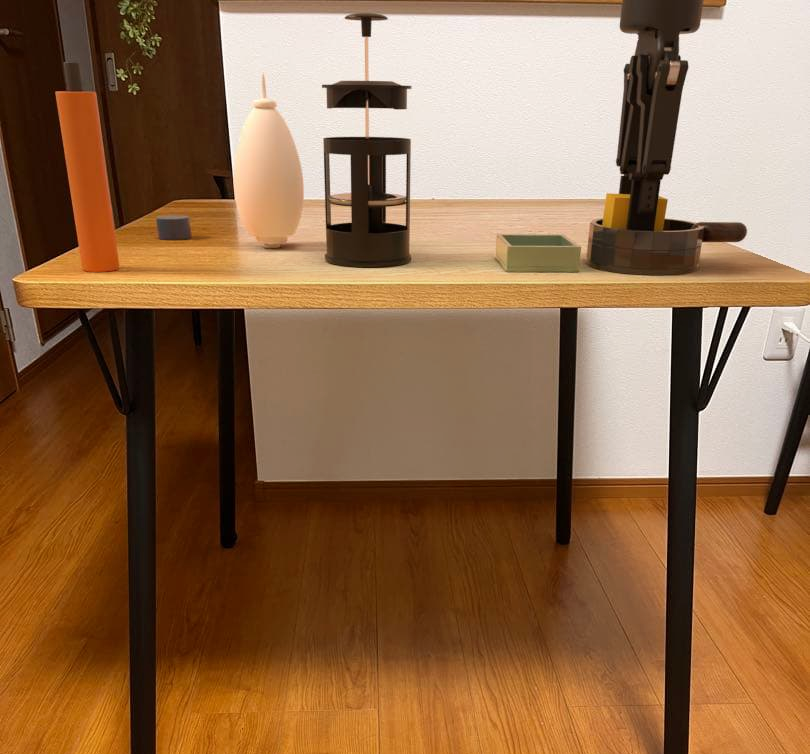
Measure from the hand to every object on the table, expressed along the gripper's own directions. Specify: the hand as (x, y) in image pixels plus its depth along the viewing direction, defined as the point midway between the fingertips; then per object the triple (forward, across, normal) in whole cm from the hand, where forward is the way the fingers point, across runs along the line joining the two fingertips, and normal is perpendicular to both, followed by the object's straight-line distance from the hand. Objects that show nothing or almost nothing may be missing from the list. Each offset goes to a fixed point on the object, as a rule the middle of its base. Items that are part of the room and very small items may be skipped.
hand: (632, 243), depth 93 cm
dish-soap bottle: (+2, +4, -55) cm, 55 cm away
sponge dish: (+2, 0, -10) cm, 11 cm away
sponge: (+1, 0, 0) cm, 1 cm away
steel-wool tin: (+2, -18, -52) cm, 55 cm away
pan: (+2, 0, +1) cm, 3 cm away
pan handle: (0, 0, +9) cm, 9 cm away
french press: (+2, -2, -28) cm, 28 cm away
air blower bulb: (+3, -11, -39) cm, 41 cm away
